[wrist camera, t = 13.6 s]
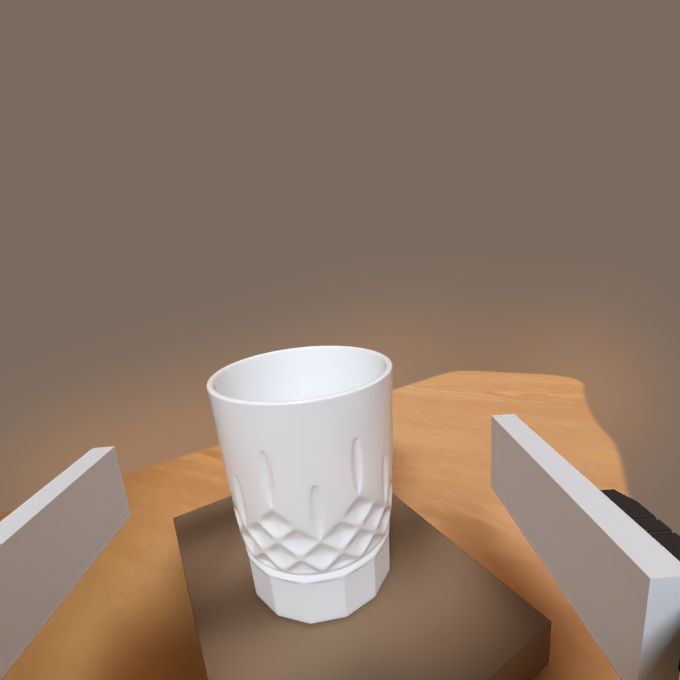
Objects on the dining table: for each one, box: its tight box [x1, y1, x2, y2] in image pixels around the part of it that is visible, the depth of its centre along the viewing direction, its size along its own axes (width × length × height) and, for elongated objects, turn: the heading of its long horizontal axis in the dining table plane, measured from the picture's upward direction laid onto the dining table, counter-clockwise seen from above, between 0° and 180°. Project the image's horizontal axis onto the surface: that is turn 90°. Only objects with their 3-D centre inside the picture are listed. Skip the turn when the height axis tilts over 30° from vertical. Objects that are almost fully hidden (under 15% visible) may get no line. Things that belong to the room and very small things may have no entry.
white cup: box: [207, 346, 393, 624], centre depth 17 cm, size 8×8×10 cm
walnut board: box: [173, 493, 551, 680], centre depth 19 cm, size 16×12×2 cm
